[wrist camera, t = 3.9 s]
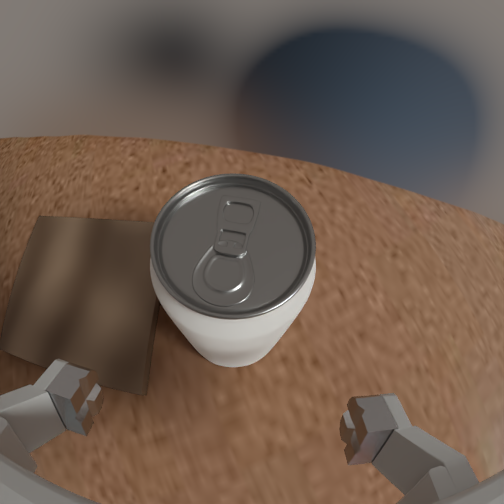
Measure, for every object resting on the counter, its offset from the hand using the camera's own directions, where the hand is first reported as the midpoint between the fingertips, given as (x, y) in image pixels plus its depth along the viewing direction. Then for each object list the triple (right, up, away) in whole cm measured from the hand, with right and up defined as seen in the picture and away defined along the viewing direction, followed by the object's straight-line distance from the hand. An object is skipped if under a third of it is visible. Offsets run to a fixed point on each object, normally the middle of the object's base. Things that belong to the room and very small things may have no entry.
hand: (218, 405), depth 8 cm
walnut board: (-13, +1, +12) cm, 18 cm away
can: (0, 0, +12) cm, 12 cm away
